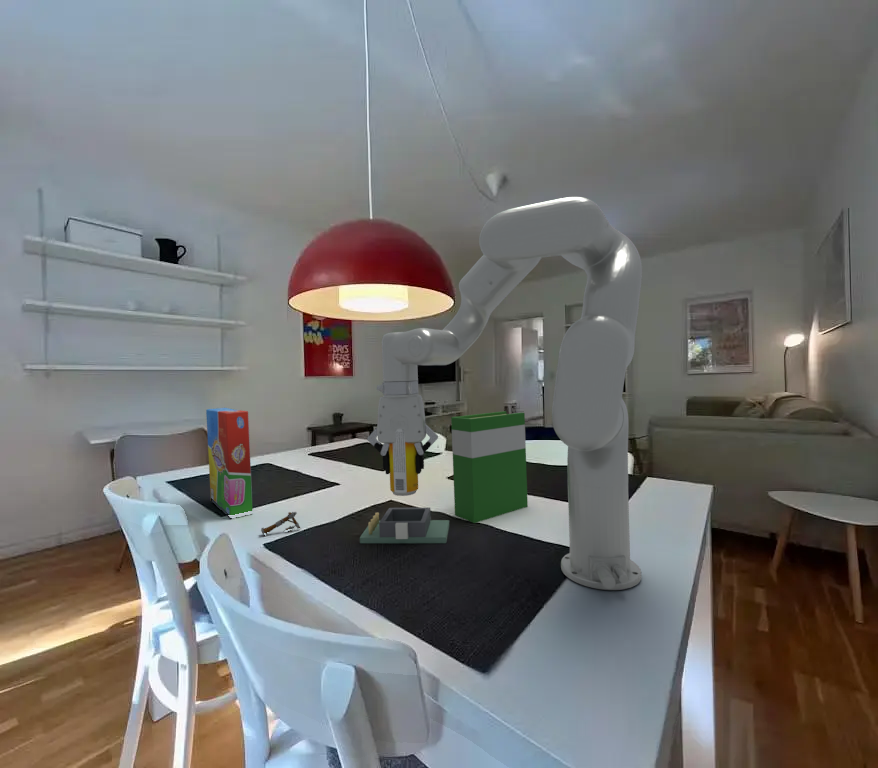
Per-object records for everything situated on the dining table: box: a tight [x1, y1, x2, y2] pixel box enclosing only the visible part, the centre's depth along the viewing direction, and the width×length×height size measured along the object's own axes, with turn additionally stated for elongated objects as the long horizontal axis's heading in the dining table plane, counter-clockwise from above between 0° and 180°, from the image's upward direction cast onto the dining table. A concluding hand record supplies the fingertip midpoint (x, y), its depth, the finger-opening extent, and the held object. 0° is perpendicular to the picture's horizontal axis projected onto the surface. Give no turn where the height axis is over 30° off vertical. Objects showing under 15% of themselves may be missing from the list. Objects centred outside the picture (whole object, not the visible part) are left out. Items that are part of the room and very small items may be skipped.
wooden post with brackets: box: [260, 511, 301, 535], centre depth 94 cm, size 2×8×4 cm, turn 110°
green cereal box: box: [450, 410, 529, 524], centre depth 103 cm, size 18×7×24 cm, turn 125°
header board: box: [359, 507, 450, 544], centre depth 90 cm, size 11×18×4 cm, turn 85°
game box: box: [205, 407, 253, 515], centre depth 113 cm, size 21×6×27 cm, turn 42°
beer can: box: [389, 428, 419, 497], centre depth 90 cm, size 6×6×15 cm
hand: (403, 471), depth 90 cm, fingers closed on beer can, 6 cm apart
